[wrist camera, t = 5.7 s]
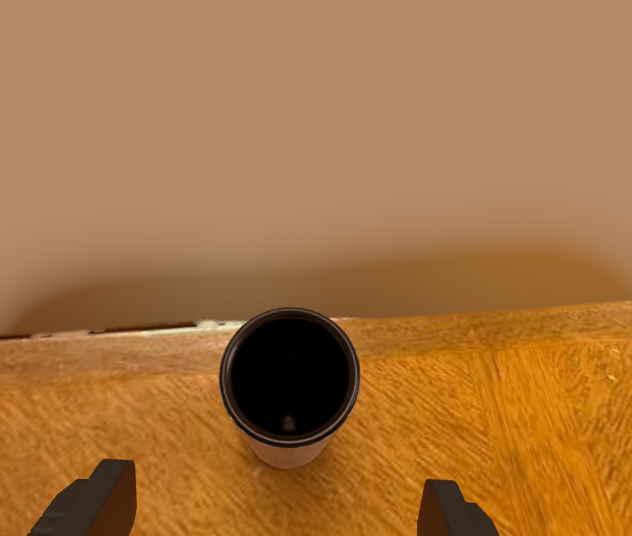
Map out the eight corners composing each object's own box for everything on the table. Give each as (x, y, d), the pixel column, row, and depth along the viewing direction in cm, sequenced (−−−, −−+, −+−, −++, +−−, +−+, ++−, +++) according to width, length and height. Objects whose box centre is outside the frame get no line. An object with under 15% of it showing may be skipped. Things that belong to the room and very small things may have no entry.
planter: (257, 482, 20) (236, 471, 11) (237, 394, 22) (205, 326, 13) (342, 451, 21) (383, 419, 12) (314, 370, 23) (333, 291, 14)
